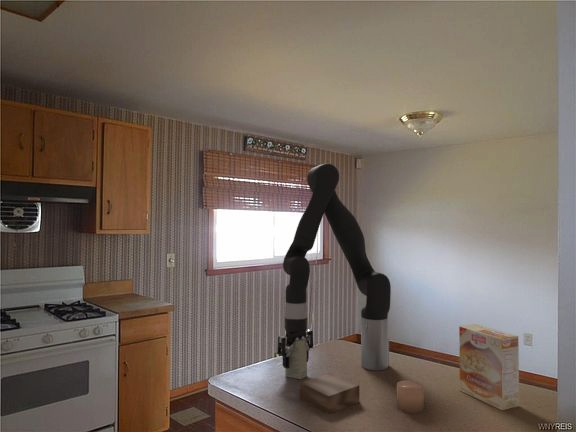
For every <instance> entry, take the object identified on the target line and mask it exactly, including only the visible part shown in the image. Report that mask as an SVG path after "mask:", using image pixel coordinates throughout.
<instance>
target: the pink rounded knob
mask: <svg viewBox="0 0 576 432" xmlns="http://www.w3.org/2000/svg"><path fill="white" fill-rule="evenodd" d="M424 389H425V388H424V385H423V384H421V383H420V382H418V381H414V380H401V381H398V382H397V383H396V407H397V408H398V410H400V411H401V412H405V413H407V414H419V413H422V412H424V410H425V408H424V407H425V406H424V405H425V404H424V403H425V402H424V400H425V397H424V392H425V391H424Z"/></svg>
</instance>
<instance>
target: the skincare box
mask: <svg viewBox="0 0 576 432" xmlns="http://www.w3.org/2000/svg"><path fill="white" fill-rule="evenodd" d="M288 347H290V346H289V344H288ZM287 351H288V350H287ZM287 351H286V353H287ZM284 369H285V370H284V371H285V375H284V377H287V378H288V377H289V378H291V379H298V380H302V379H304V378H306V377H307V376H308V362H307V348H306V338H305V339H303V340H301V339H299V340H298V341H296V345H295V347H294V349H293V351H291V353H290V355H289V368H288V369H286V368H284Z"/></svg>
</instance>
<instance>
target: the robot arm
mask: <svg viewBox="0 0 576 432" xmlns="http://www.w3.org/2000/svg"><path fill="white" fill-rule="evenodd" d="M306 180H307V181H306V182H307V184H308V185H307V186H308V187H309V189H310V191H311V192H312V194H311V197H310V200H309V202H308V204H307V207H306V208H305V210H304V212H303V213H302V215H301V217H300V220H299V222H298V224H297V227H296V230H295V233H294V236H293V239H292V240H293V241H292V242H291V244H290V246H289V247H288V250H286V251H287V252H286V254H285V256H284V258H283V262H282V268H283V271H284V273H286V275H289V283H288V284H287V285H286V287H285V301H284V303H285V304H284V330H285V335H284V336H281V335H279V336H278V337H277V348H276V349H277V355H278V356H281V357H282V367H283V368H284V369H285V368H286V369H288V368H289V355H290V353H291V351H293V349H294V347H295V345H296V341H298V340H299V339H301V340H303V339H306V348H307V363H308V362H309V359H310V356H309V354H310V353H309V352H310V350H311V349H313V348H314V332H313V330H312V329H308V306H307V304H308V303H307V301H308V300H307V288H308V285H309V284H308V283H309V280H310V274H311V266H310V262H309V260H308V259H307V258H306V256H307V254H308V252H309V251H312V249H313V248H314V245H315V241H316V239H317V235H318V231H319V228H320V225H321V222H322V219H323V217H324V216H325V217H326V220H327V222H328V224H329V226H330V228H331V231H332V232H333V235H334V237H335V239H336V241H337V243H338V245H339V247H340V249H341V251H342V253H343V255H344V257H345V259H346V261H347V263H348V265H349V266H350V267H349V268H350V270H351V271H352V275H353V278H354V280H355V283H356V286H357V288H358V290H359V292H361V294H362V295H364V296H365V297H366V298H365V299H366V301H365V306H364V307H362V309H361V311H360V315H361V317H360V321H361V322H360V326H361V328H360V333H361V337H360V341H361V343H360V344H361V345H360V349H361V351H360V352H361V354H360V357H361V358H360V360H361V362H360V363H361V365H360V366H361V367H362V368H364V369H367V370H369V371H384V370H387V369H388V368H389V365H390V338H389V337H388V336H389V335H388V334H389V323H388V322H389V321H388V319H389V316H388V315H389V312H390V309H391V297H392V296H391V294H392V293H391V292H392V291H391V287H392V286H391V282H390V279H389V278H388V276H387V275H386V274H384V273H382V272H378V271H375V270H374V268H373V266H372V265H371V263H370V260H369V258H368V255H367V251H366V241H365V236H364V233H363V231H362V229H361V226H360V225H359V222H358V221H357V219H356V216H354V215H353V213H352V212H351V211H350V210H349V209H348V207H347V206H346V205H345V204H344V203H343V202H342V201H341V199H340V197H339V196H338V194H337V192H336V188H337V185H338V183H339V182H340V173H339V170H338V168H337V167H336V166H335V165H333V164H331V163H323V164H319V165H317V166H315V167H312V168H310V170H309V171H308V172H307V176H306ZM288 344H289V346H290V347H288ZM287 350H288V351H287ZM286 351H287V353H286Z"/></svg>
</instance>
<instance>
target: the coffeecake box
mask: <svg viewBox="0 0 576 432" xmlns="http://www.w3.org/2000/svg"><path fill="white" fill-rule="evenodd" d="M458 328H459V329H458V331H459V343H458V344H459V347H458V348H459V391H461V392H463V393H465V394H467V395H469V396H471V397H473V398H475V399H477V400H479V401H481V402H483V403H486V404H488V405H490V406H492V407H494V408H496V409H498V410H501V411H506V410H509V409H513V408H518V407H520V379H519V378H520V375H519V374H520V373H519V372H520V367H519V366H520V362H519V359H520V358H519V357H520V353H519V335H515V334H512V333H507V332H504V331H502V330H501V331H500V330H497V329H493V328H489V327H487V326H483V325H479V324H474V323H473V324H468V325H467V324H465V325H464V324H463V325H459V327H458Z"/></svg>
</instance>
